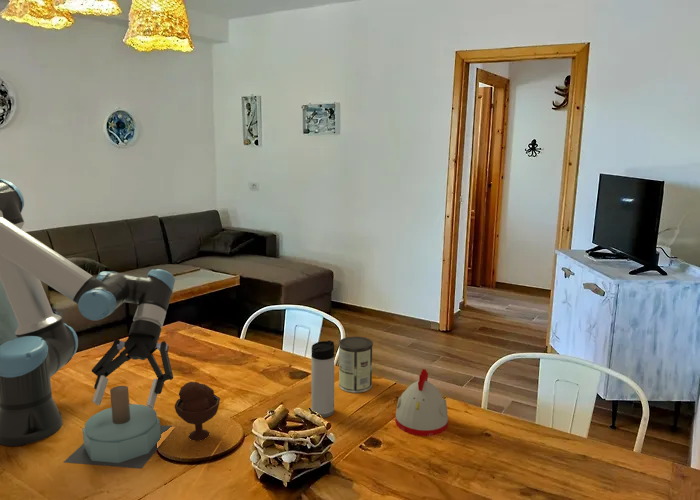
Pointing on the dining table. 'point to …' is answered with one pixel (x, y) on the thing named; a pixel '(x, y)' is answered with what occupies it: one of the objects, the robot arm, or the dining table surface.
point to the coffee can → (355, 364)
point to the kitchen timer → (422, 409)
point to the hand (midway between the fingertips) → (122, 405)
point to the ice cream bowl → (197, 407)
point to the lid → (121, 430)
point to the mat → (137, 462)
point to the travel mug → (322, 378)
